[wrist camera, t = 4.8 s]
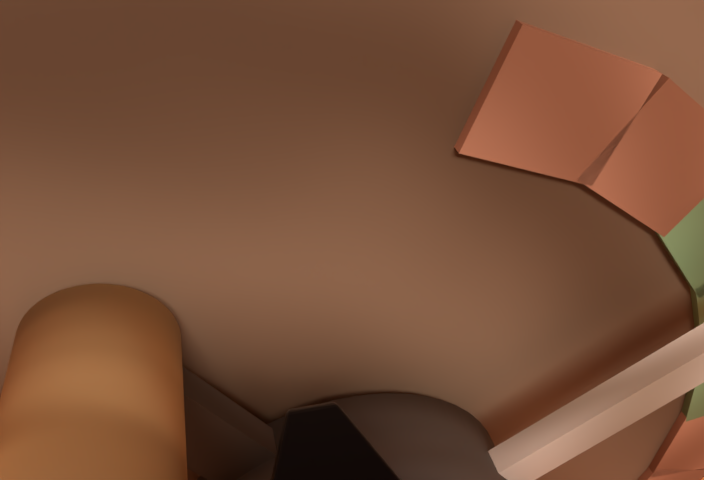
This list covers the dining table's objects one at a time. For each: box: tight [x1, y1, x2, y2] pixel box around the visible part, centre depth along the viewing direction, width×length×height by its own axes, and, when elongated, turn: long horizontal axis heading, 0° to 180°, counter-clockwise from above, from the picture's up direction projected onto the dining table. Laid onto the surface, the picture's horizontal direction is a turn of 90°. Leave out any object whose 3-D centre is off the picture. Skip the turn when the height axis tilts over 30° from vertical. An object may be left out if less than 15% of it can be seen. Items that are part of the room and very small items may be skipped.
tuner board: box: [0, 0, 704, 480], centre depth 15 cm, size 24×21×1 cm
